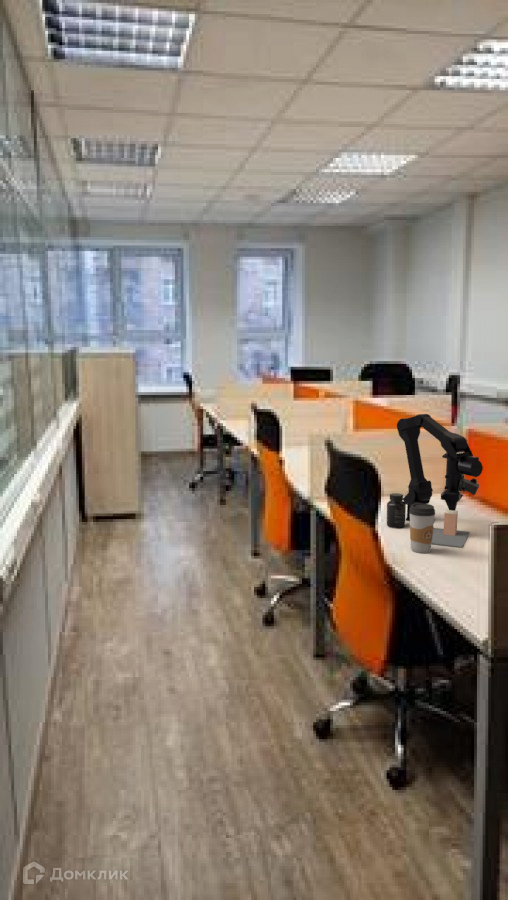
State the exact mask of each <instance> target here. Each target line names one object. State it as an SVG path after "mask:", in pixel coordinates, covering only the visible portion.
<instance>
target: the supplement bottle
mask: <svg viewBox="0 0 508 900" xmlns="http://www.w3.org/2000/svg"><path fill="white" fill-rule="evenodd" d="M403 498H404V494H403V493H396V492H395V493H390V494H389V501H388V502H387V503H386V526H387V527H389V528H391V529H401V528H405V526H406V515H407V510H406V509H407V505H406V504H405V502H404V501H403Z"/></svg>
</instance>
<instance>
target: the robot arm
mask: <svg viewBox="0 0 508 900" xmlns="http://www.w3.org/2000/svg"><path fill="white" fill-rule="evenodd" d="M396 428H397V433H398V436H399V437H400V439H401V440H402V441H403V442H404V447H405V453H406V457H407V465H408V469H409V474H410V475H409V476H410V481H409V484H408V486H407V487H408V493H406V494H405V496H403V500H402V501H403V502H405V504H406V509H407V510H406V517H405V521H409V522H410V513H409V511H410V508H411V505H412V504H417V503H423V504H430V501H431V499H432V497H433V492H434V490H433V487H432V481H431V480H427V478H426V477H425V473H424V468H423V462H422V456H421V451H420V446H419V437H420V435H421V428H422V429H424V430H425V431H426V432H428V433H429V434H430V435H432V436H433V437H434V438H435V439H437V440H438V441H439V442H440V446H441V448H442V449H443V450H444V451H445V452H446V453H444V454H443V455H442V459H446V464H445V465H446V468H445V475H444V479H445V486H444V490H443V491H442V492H441V494H440V500H442V501H445V504H446V506H447V508H448V509H447V510H454V511H457V510H456V509H457V507H458V506H457V505H458V502H460V500H461V499H462V498H463V496H464V494H463V493H465V492H468V494H469V493H470V494H471V495H473V496H475V495H476V494H477V492H478V491H479V487H480V484H479V483H478V480H477V479H476V478H477V477H480V476H481V474H482V473H483V469H484V466H483V463H482V462H481V461H480V458H479V456H474V454H473V453H472V450H471V448H470V446H469V444H468V440H467V439H466V437H464V436H463V435H461V434H459V433H456V432H455V433H454V432H452V431H449V430H448V429H447V428H446V427H444V426H443V425H441V424H440V423H439V422H437V420H435V419H434V418H432V416H431V415H430V414H428V413H420V414H416V415H414V416H411V417H405V418H400V419H399V420H398V421H397V423H396ZM465 476H468V477H469V476H470V477H473V478H471V479H466V478H465ZM461 492H463V493H461Z"/></svg>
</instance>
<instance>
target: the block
mask: <svg viewBox="0 0 508 900" xmlns="http://www.w3.org/2000/svg"><path fill="white" fill-rule="evenodd" d="M458 513H459V512H458V510H455V511H454V510H449V509H445V511H444V515H443V529H444V531H443V534H445V535H453V536H455V535H456V533H457V530H458V528H457V527H458Z"/></svg>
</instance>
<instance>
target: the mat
mask: <svg viewBox="0 0 508 900" xmlns="http://www.w3.org/2000/svg"><path fill="white" fill-rule="evenodd" d="M443 531H444V528H441V527H440V528H439V527H434V528H433V536H432V543H431V545H435V546H444V547H449V548H458V549H462V548H463V546H464V544H465V543H466V540H467V538H468V537H469V535H470V531H465V530H458V529H457V533H456V535H455V536H453V535H445V534H443Z"/></svg>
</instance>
